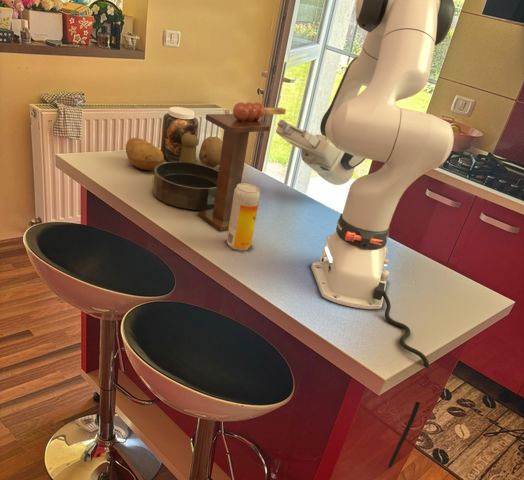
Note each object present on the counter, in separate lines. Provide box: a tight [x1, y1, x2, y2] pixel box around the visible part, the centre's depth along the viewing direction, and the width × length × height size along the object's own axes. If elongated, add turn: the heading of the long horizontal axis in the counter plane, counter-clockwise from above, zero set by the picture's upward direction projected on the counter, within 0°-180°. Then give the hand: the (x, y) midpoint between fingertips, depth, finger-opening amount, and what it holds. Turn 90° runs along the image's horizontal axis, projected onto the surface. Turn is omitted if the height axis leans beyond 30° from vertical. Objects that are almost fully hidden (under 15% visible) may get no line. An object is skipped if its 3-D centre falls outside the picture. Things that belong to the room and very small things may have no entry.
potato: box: [125, 137, 165, 172], centre depth 164 cm, size 10×14×8 cm
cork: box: [179, 134, 199, 163], centre depth 169 cm, size 6×6×11 cm
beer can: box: [226, 182, 261, 251], centre depth 131 cm, size 6×6×15 cm
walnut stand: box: [197, 113, 271, 232], centre depth 139 cm, size 12×10×26 cm
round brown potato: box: [198, 136, 223, 169], centre depth 175 cm, size 9×9×10 cm
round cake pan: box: [152, 161, 219, 211], centre depth 153 cm, size 20×20×6 cm
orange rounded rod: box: [232, 101, 287, 121], centre depth 134 cm, size 16×4×4 cm, turn 131°
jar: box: [160, 106, 200, 162], centre depth 176 cm, size 12×12×15 cm
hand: (292, 127), depth 144 cm, fingers open, 8 cm apart
